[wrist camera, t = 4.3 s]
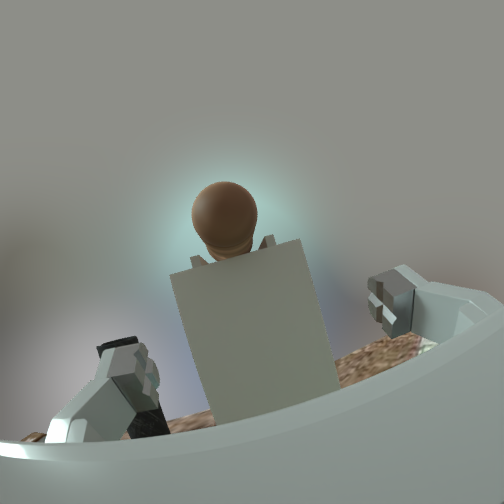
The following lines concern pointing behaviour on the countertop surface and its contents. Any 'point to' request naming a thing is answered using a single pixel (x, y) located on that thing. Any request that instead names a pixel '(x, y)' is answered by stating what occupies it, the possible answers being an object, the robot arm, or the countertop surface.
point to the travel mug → (143, 421)
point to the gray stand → (256, 331)
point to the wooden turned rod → (225, 219)
